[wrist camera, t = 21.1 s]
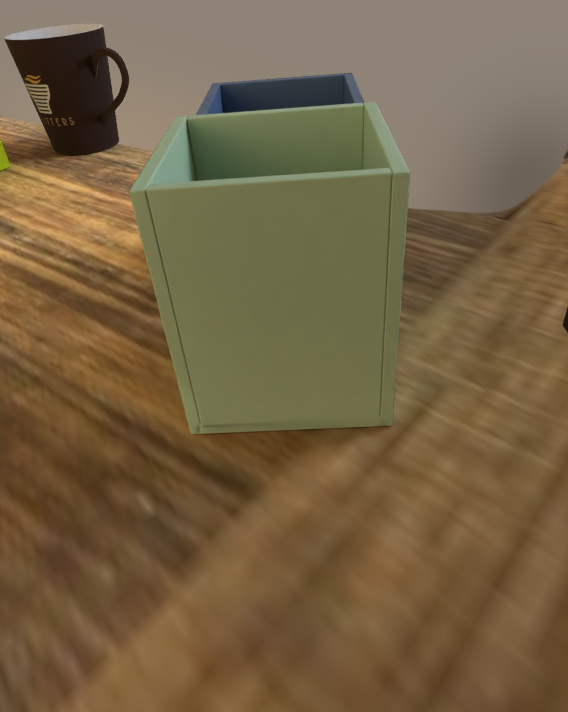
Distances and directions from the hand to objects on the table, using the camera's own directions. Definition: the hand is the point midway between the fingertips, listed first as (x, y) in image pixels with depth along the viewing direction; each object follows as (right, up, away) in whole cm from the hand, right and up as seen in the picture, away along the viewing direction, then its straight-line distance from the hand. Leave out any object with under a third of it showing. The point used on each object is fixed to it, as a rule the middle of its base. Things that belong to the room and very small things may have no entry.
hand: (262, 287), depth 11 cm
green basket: (+1, -2, +13) cm, 13 cm away
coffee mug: (-19, +19, +43) cm, 50 cm away
